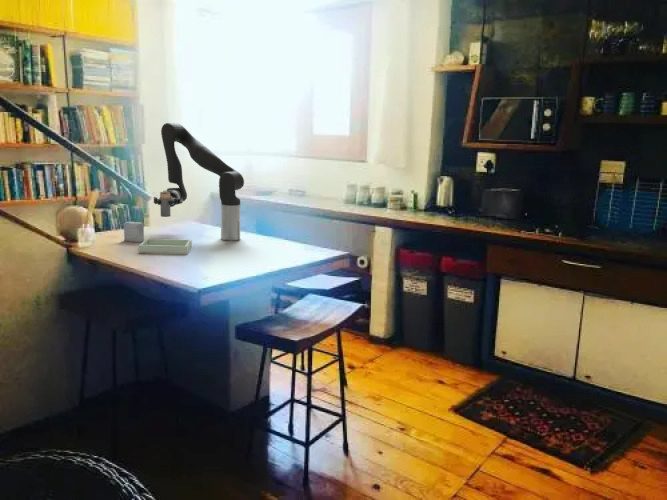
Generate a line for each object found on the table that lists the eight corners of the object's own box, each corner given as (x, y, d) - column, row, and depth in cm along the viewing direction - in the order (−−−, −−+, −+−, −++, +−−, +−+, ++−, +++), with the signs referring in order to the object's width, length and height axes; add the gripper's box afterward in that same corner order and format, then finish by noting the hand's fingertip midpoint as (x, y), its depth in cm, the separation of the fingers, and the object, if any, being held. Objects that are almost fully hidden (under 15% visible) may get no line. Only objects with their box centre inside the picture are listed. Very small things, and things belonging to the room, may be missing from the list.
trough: (191, 247, 256) (191, 239, 255) (187, 254, 241) (186, 246, 240) (146, 246, 253) (146, 238, 253) (138, 253, 239) (138, 245, 238)
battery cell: (171, 215, 263) (170, 190, 260) (169, 216, 258) (169, 191, 256) (161, 215, 262) (160, 190, 260) (159, 216, 258) (159, 191, 255)
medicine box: (144, 240, 265) (144, 222, 263) (138, 242, 261) (138, 224, 259) (129, 239, 267) (129, 221, 265) (124, 240, 263) (123, 222, 261)
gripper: (155, 190, 272) (148, 194, 255) (185, 191, 273) (180, 194, 257) (155, 205, 273) (148, 210, 257) (185, 206, 275) (180, 211, 258)
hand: (164, 202), depth 257 cm, fingers closed on battery cell, 4 cm apart
